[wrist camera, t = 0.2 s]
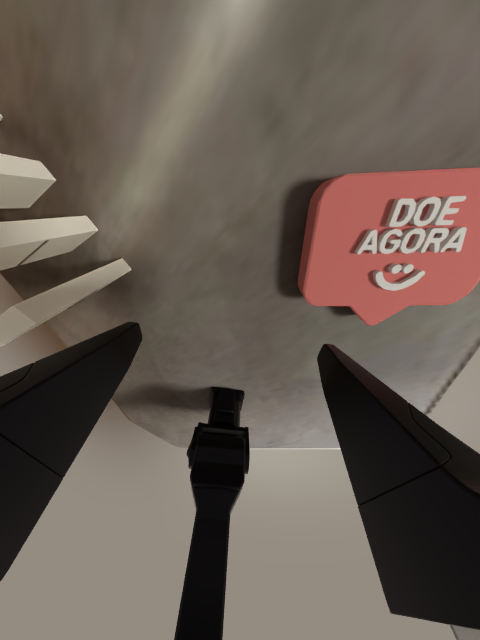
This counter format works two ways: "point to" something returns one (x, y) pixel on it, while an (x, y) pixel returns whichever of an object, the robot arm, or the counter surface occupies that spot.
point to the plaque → (392, 241)
